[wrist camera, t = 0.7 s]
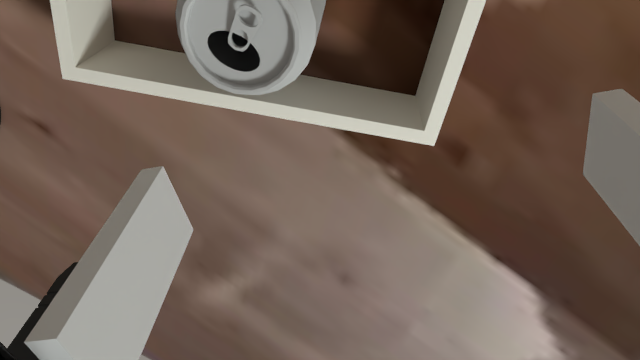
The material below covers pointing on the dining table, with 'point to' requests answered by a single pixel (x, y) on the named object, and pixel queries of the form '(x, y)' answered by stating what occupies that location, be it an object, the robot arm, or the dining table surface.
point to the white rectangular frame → (288, 103)
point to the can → (249, 41)
